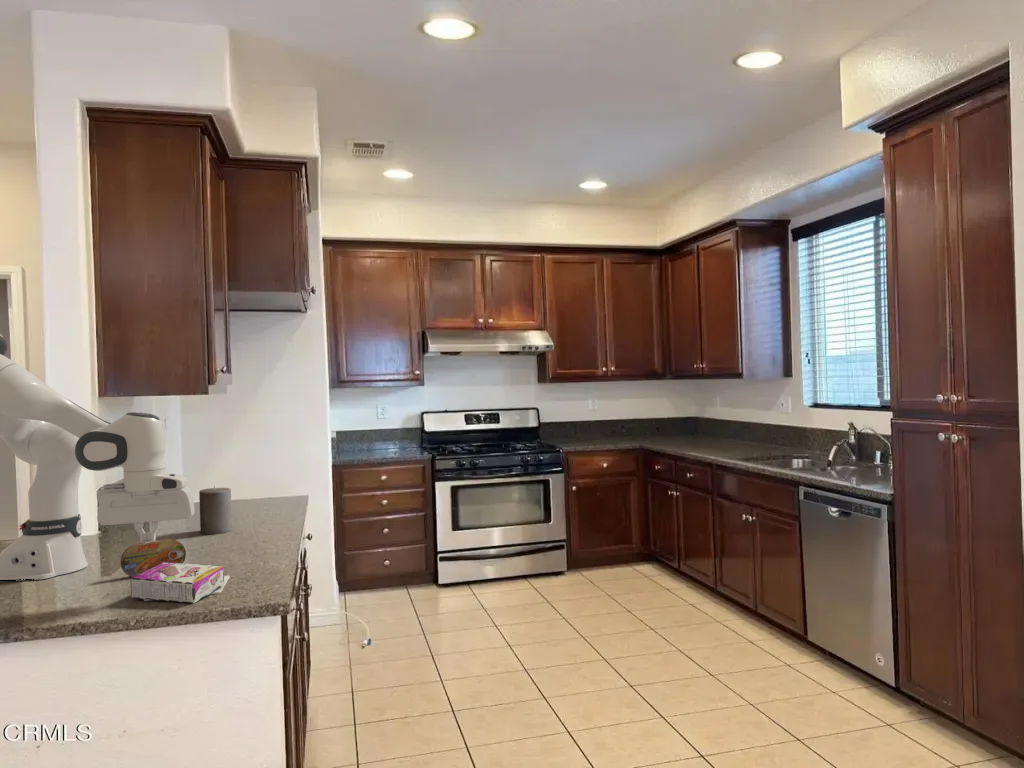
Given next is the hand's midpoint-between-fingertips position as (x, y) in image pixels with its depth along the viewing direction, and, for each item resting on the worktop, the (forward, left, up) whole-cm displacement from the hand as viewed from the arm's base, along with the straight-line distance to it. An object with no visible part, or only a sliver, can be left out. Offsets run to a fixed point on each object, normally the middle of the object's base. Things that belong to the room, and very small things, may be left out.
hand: (148, 540), depth 165 cm
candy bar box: (-1, -1, -9) cm, 9 cm away
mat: (+8, 0, -12) cm, 15 cm away
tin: (-4, +18, -12) cm, 23 cm away
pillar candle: (+3, +67, -12) cm, 69 cm away
